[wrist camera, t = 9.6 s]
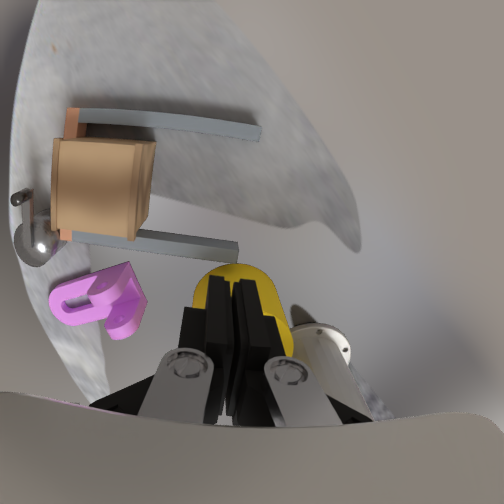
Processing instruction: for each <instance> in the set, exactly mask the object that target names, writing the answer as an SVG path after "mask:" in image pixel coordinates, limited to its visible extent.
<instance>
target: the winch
mask: <svg viewBox="0 0 504 504" xmlns="http://www.w3.org/2000/svg"><path fill="white" fill-rule="evenodd" d="M10 200H11V204H12V205H13V206H15V207H16V206H19V205H20V204H22V221H23V223H22V224H21V225H19V226H18V228H17V229H16V231H15V234H14V246H15V249H16V252H17V254H18V256H19V257H20V258H21V260H22V261H23V262H25V263H26V264H28V265H29V266H32V267H40V266H42V265H44V264H45V263H46V262H47V261H48V260H49V259H50V258H51V257H53V256H54V255H55V254H56V253H57V252H58V251H59V250H60V249H61V248H62V247H63V246H64V245H65V244H66V243H67V241H66V240H60V229H58V230H57V231H53V230H51V209H46V210H44V211H42V212H40V213H38V214H37V215H35V216H34V209H33V189H30V188H25V189H23V190H22V191H19V192H17V193H15V194H13V195H12V196H11V199H10Z"/></svg>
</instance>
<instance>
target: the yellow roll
mask: <svg viewBox="0 0 504 504" xmlns="http://www.w3.org/2000/svg"><path fill="white" fill-rule="evenodd" d="M209 275H216V276H224V280H225V281H230V292H231V295H232V289H233V283H234V282H239V280H240V278H241V279H250V280H255V281H256V285H257V289H258V294H259V298H260V302H261V306H262V311H263V315H267V316H274V317H275V319H276V322H277V326H278V329H279V333H280V336H281V340H282V343H283V347H284V350H285V354H286V356H289V357H292V354H293V349H294V343H293V338H292V335H291V332H290V329H289V326H288V323H287V320H286V317H285V314H284V311H283V308H282V306H281V303H280V300H279V297H278V294H277V291H276V288H275V285H274V284H273V282H272V280H271V279H270V278H269V277H268V276H267V275H266V274H265V273H264V272H263V271H261V270H259V269H257V268H255V267H253V266H250V265H246V264H239V263H237V264H227V265H223V266H219V267H217V268H215V269H213V270H211V271H210V272H208V273H207V274H206V275H205V276H204V277H203V278H202V279H201V280H200V281H199V283H198V285H197V286H196V289H195V292H194V296H193V305H192V308H200V309H205V304H206V296H207V288H208V280H209Z"/></svg>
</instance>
